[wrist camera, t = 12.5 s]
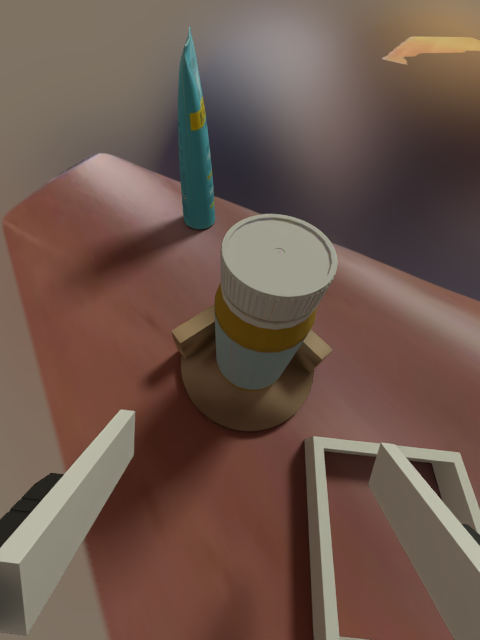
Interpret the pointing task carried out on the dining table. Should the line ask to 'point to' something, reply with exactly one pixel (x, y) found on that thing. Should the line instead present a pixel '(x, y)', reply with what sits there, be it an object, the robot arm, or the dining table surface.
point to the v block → (232, 402)
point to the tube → (194, 145)
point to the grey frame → (324, 604)
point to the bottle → (268, 295)
